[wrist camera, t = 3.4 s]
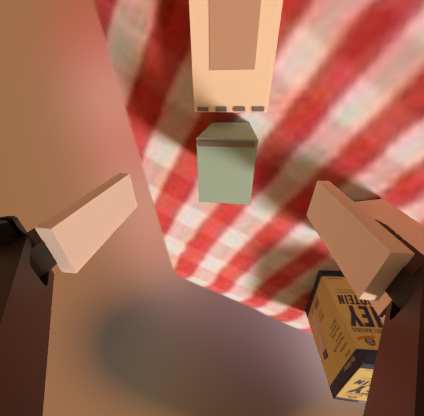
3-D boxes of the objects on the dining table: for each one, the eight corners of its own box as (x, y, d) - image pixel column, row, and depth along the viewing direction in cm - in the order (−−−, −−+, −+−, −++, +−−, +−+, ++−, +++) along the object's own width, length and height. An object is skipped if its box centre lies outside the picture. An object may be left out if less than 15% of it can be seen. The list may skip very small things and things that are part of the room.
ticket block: (197, -26, 18) (185, -65, 14) (279, -32, 18) (293, -76, 13) (201, 109, 24) (193, 112, 20) (261, 109, 24) (267, 112, 19)
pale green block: (212, 122, 25) (195, 138, 15) (249, 122, 25) (258, 139, 14) (212, 164, 28) (198, 202, 18) (245, 165, 28) (250, 205, 17)
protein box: (374, 271, 36) (456, 373, 22) (350, 315, 43) (400, 409, 30) (317, 269, 37) (362, 363, 24) (304, 312, 45) (332, 401, 32)
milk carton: (382, 197, 28) (583, 334, 12) (371, 233, 31) (516, 377, 15) (331, 203, 29) (447, 331, 13) (326, 237, 33) (414, 372, 17)
